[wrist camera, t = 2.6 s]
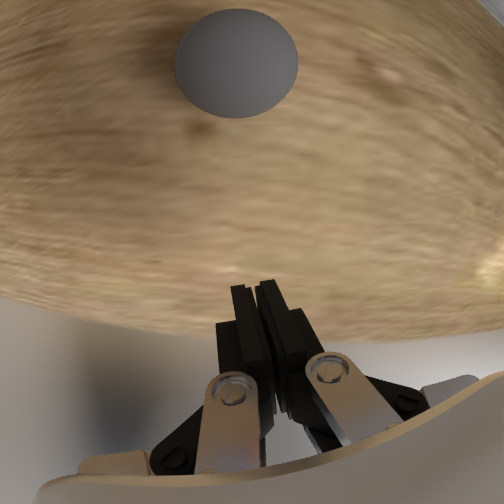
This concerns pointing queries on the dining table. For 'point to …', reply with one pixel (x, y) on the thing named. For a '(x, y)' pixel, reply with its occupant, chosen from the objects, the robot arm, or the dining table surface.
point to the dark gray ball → (236, 63)
